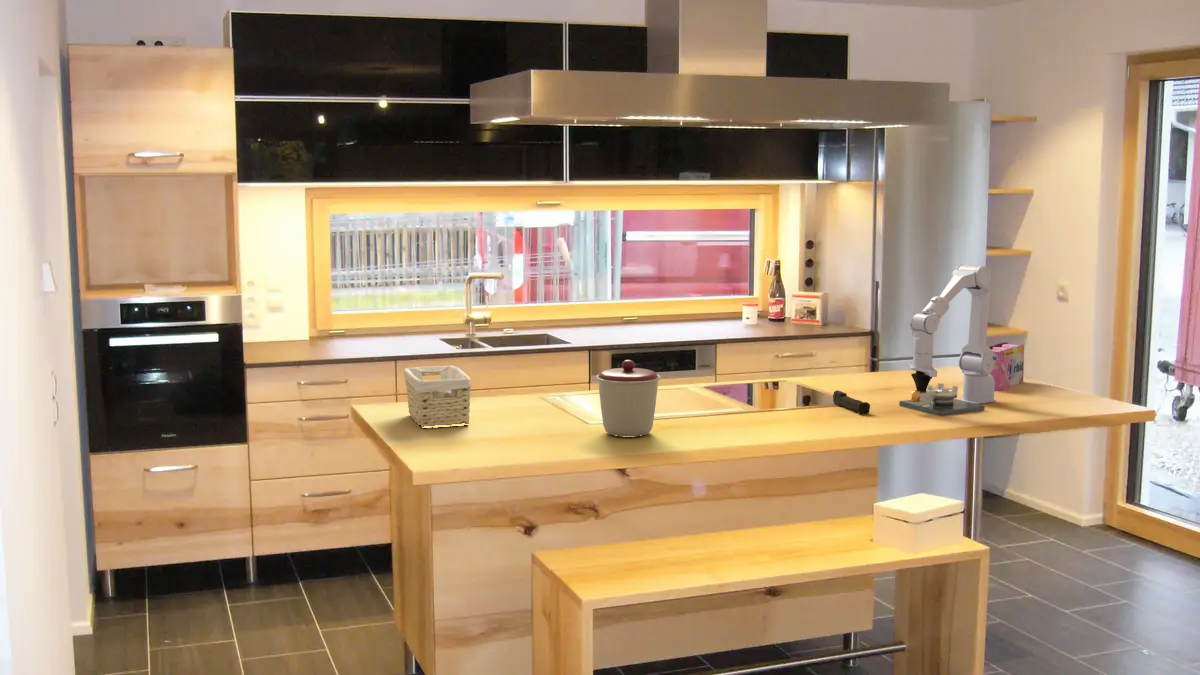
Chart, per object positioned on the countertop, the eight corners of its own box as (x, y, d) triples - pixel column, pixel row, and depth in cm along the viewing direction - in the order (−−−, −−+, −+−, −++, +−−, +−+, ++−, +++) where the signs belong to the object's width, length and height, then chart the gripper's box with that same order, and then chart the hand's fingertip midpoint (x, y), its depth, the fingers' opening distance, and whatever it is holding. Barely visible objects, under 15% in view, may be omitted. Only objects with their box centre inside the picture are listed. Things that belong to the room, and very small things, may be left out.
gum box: (1003, 379, 416) (1005, 341, 414) (1025, 382, 411) (1027, 343, 409) (975, 388, 398) (976, 349, 396) (997, 391, 393) (999, 351, 391)
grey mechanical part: (938, 395, 370) (939, 382, 370) (962, 399, 363) (963, 386, 363) (900, 402, 359) (901, 389, 359) (925, 406, 352) (925, 393, 352)
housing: (942, 400, 377) (942, 389, 376) (984, 410, 361) (984, 399, 360) (899, 405, 368) (899, 394, 368) (940, 416, 353) (941, 404, 352)
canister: (656, 442, 318) (656, 366, 315) (590, 440, 321) (590, 364, 318) (663, 428, 336) (664, 355, 333) (601, 426, 339) (601, 354, 336)
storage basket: (473, 427, 338) (472, 377, 336) (417, 431, 333) (416, 380, 331) (456, 411, 360) (455, 364, 358) (403, 415, 355) (402, 367, 353)
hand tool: (870, 415, 356) (871, 399, 355) (858, 415, 355) (859, 400, 354) (841, 403, 374) (842, 389, 373) (830, 404, 373) (830, 389, 372)
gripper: (899, 349, 365) (898, 392, 367) (922, 356, 351) (921, 401, 353) (920, 348, 367) (918, 391, 369) (944, 355, 353) (942, 400, 355)
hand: (921, 396), depth 361 cm, fingers closed
